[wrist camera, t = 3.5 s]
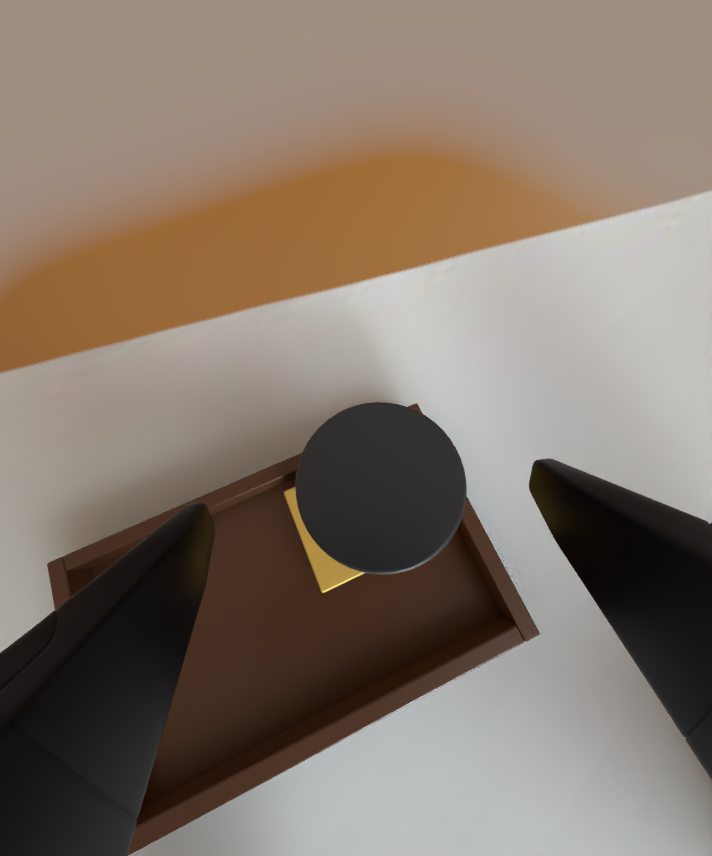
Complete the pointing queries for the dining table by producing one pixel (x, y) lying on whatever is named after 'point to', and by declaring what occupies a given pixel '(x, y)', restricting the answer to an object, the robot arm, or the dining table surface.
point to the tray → (300, 645)
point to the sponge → (376, 493)
